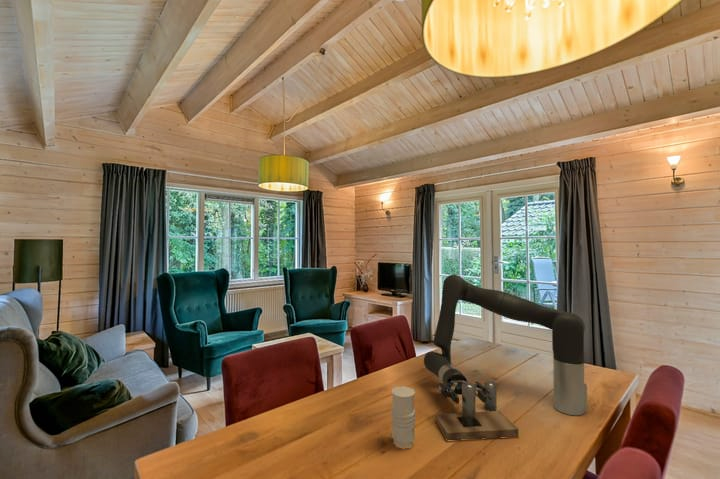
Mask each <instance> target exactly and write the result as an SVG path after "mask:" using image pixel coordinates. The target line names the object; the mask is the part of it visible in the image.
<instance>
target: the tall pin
mask: <svg viewBox="0 0 720 479" xmlns="http://www.w3.org/2000/svg"><path fill="white" fill-rule="evenodd" d="M475 412H476V396H475V382H474V383H473V382H471V381H468V382H463V383H462V395H461V413H462V426H463V427H476V416H475Z"/></svg>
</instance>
